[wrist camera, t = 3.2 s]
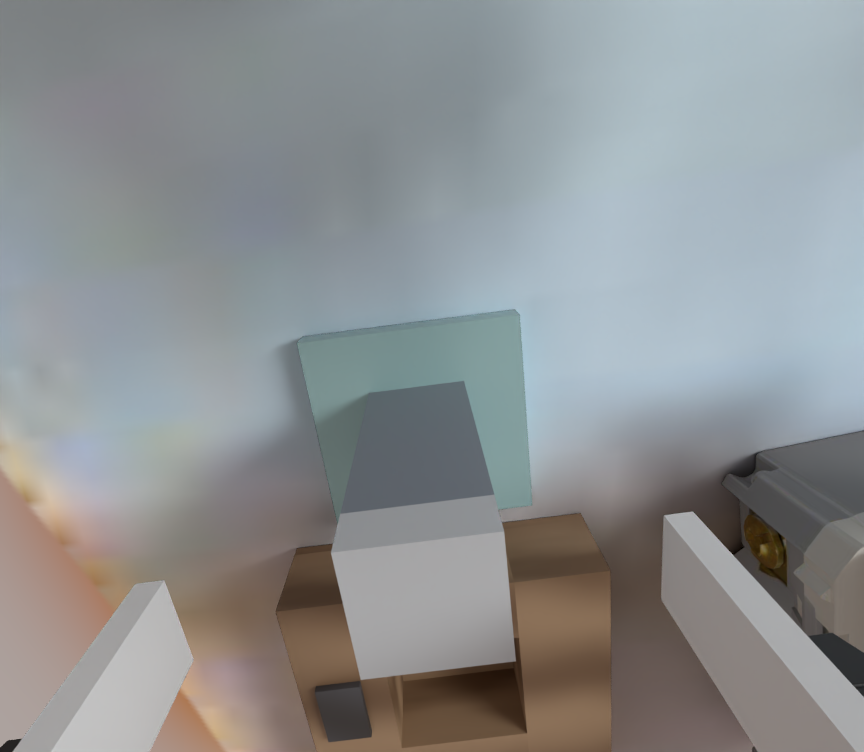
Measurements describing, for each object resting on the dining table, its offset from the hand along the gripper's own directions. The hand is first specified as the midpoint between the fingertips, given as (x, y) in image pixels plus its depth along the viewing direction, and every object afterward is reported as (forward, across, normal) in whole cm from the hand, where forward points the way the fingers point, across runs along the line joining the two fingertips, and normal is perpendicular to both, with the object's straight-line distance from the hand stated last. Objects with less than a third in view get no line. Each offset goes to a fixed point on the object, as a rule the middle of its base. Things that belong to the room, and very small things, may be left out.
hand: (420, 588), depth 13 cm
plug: (+9, 0, 0) cm, 9 cm away
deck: (+10, 0, 0) cm, 10 cm away
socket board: (+10, 0, -18) cm, 20 cm away
